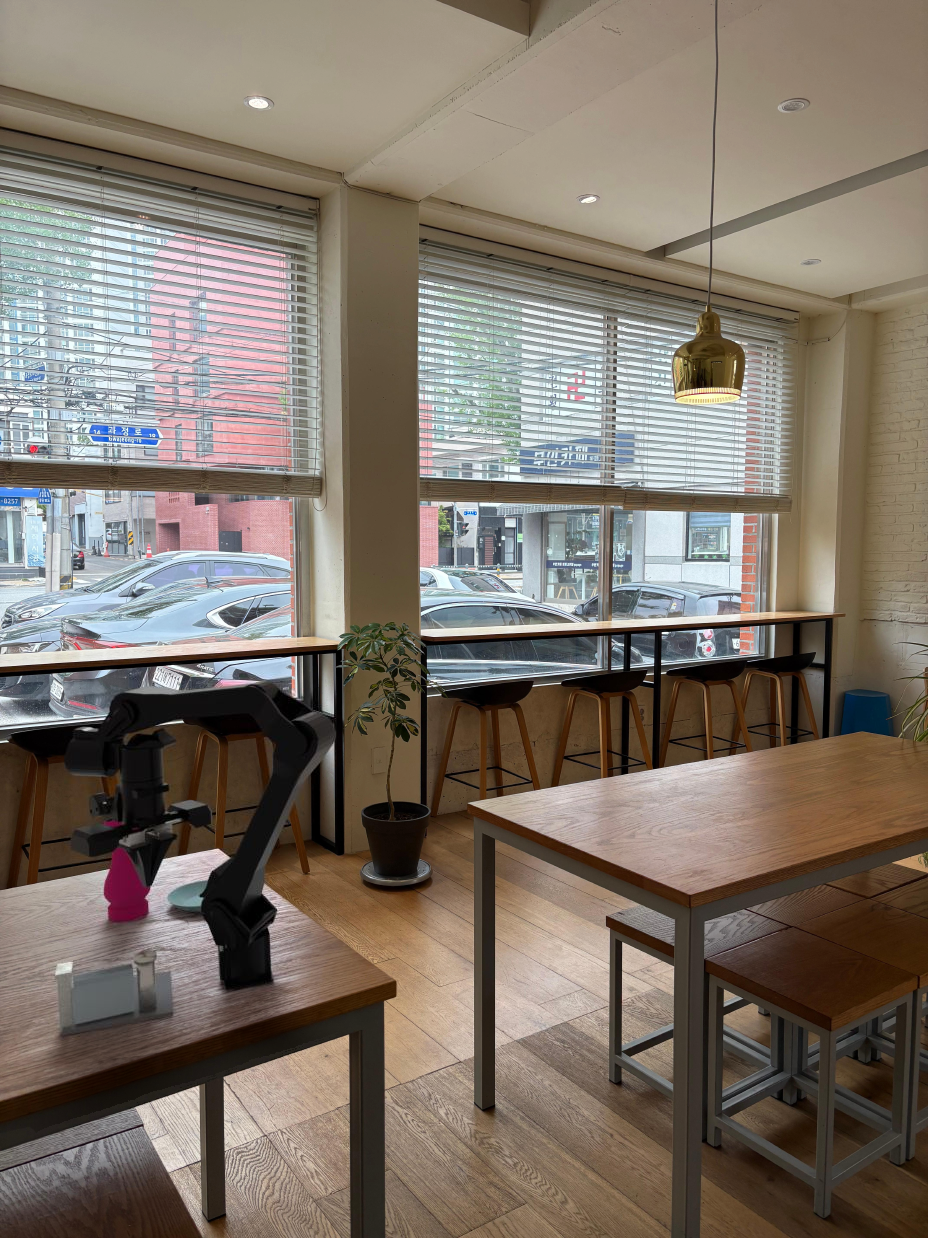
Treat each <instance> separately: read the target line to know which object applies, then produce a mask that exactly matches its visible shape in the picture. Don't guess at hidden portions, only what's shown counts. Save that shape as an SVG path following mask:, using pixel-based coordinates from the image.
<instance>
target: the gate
mask: <svg viewBox="0 0 928 1238" xmlns="http://www.w3.org/2000/svg"><path fill="white" fill-rule="evenodd" d="M133 977H134V968H133V964H132V963H128V964H127V963H126V964H121V965H118V966H117V965H116V966H111V967H107V968H103V969H97V970H93V971H89V972H84V973H79V974H72V985H73V987H74V1002H75V1019H76V1024H78V1023H83V1022H87V1021H92V1020H96V1019H100V1018H105V1017H109V1016H114V1015H118V1014H122V1013H127V1012H131V1011H135V999H134V980H133Z"/></svg>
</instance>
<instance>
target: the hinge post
mask: <svg viewBox="0 0 928 1238" xmlns="http://www.w3.org/2000/svg"><path fill="white" fill-rule="evenodd" d="M157 954H158V952H157V951H156V950H151V949H147V950H142V951H139V952H137V953H135V954H134V955H133V964H135V966H136V977H137V985H138V1005H139V1012H141V1013H149V1012H152V1011H154V1010H156V1008H157V998H156V978H155V973H156V965H155V963H156V961H157V960H158V955H157Z"/></svg>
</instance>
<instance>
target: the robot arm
mask: <svg viewBox="0 0 928 1238" xmlns="http://www.w3.org/2000/svg"><path fill="white" fill-rule="evenodd" d="M108 710H109V712H108V713H107V715H105V716H106V717H105V718H104V720H103V721H102V723H101V724H100V726H99V727H98V728H93V727H90V726H81V727H77V728H75V729H73V730H72V733H73V734H72V735H73V738H71V740H70V741H69V742H68V744H67V747H66V751H65V754H64V756H63V758H64V760H63V761H64V765H65V766H64V767H65V768H66V771H67V772H68V774H70V775H73V776H82V777H83V776H84V777H87V776H88V777H105V778H106V777H107V778H109V777H110V778H111V777H114V776H115V775H116V774H117V773H118V772H119V779H120V781H119V782H120V784H119V783H118V784H115V788H114V792H115V793H114V795H113V796H109V797H108V796H107V793H106V792H99V793H96V794H92V795H90V796H88V810H89V815H90V817H91V818H92V819H97V818H101V817H102V820H103V823H100V822H97V823H93V824H89V825H86V826H82V827H78V828H75V829H74V830H73V833H72V835H71V836H70V849H71V850H72V851H74V852H77V853H79V854H80V855H81V854H82V855H84V856H87V857H88V858H97V857H99V856H102V855H106V854H110V853H111V854H112V852H114V851H115V849H116V848H117V847H119V848H122V849H124V850H125V851H126V852H127V854H128V856H129V857H130V859H131V861H132V863H133V865H134V867H135V869H136V871H137V874H138V876H139V878H140V880H141V883H142V885H143V886H144V887H150V886H151V887H152V885H153V884H154V881H155V879H156V877H157V875H158V872H159V870H160V868H161V865H162V862H163V861H164V858H165V856H166V855H167V853H168V851H169V849H170V847H171V845H172V843H173V842H174V841H176V840H178V838H179V835H178V834H177V833H173V827H174V826H176V825H180V824H184V823H187V822H188V825H190V826H191V827H192V828H193V829H198V828H203V827H205V826H209V825H212V824H213V811H212V809H211V807H210V806H209V805H208V804H206V803H203V802H199V801H196V800H192V799H188V800H185V801H180V802H175V803H171V804H169V806H168V808H167V810H166V803H165V801H166V800H165V793H167V792H170V784H169V783H168V782H167V783H166V782H165V780H164V763H163V762H164V759H163V758H164V757H163V749H164V748H167V747H170V746H173V745H174V744H176V743H177V739H176V738H175V737H174V736H173V735H172V734H170V733H168V731H166V729H165V728H164V727H162V728H159V729H156V730H154V731H153V732H152V733H141V731H143V730H146V729H151V728H154V727H156V726H159V725H163V724H166V723H167V724H168V723H169V722H173V721H178V720H187V719H197V718H199V719H200V718H208V717H218V716H219V717H220V716H227V715H239V714H248V715H250V716H251V717H252V718H253V719H254V721H255V722H256V724H257V725H258V727H259V728H260V730H261V731H262V733H263V734H264V735H265V737H266V738H267V739H268V740H270V741H271V742H272V743H274V746H273V747H274V748H273V752H272V756H271V757H272V758H271V759H272V760H271V761H272V765H271V767H272V768H271V769H272V770H271V771H272V773H271V775H270V778H269V781H268V783H267V785H266V787H265V788H264V791H263V793H262V795H261V797H260V800H259V802H258V805H257V806H256V808H255V811H254V813H253V815H252V816H251V819H250V821H249V824H248V827H247V828H246V831H245V833H244V835H243V837H242V839H241V841H240V843H239V846H238V847H237V850H236V852H235V855H234V857H233V856H232V857H230V858H228V859H226V860H225V861H224V862H223V863H221V864H219V866H216V867H215V868H214V869H213V870H212V871H210V873H209V876H208V877H207V878H208V879H207V880H208V882H207V886H206V888H205V890H204V891H203V892H202V893H201V894H200V895H199V897H200V898H203V900H202V902H201V906H200V911H201V912H200V913H201V914H202V916H203V919H204V921H205V922H206V924H207V926H208V929H209V931H210V934H211V936H212V939H213V942H214V944H215V946H217V961H218V962H217V963H218V975H219V981H221V982H223V986H224V987H223V988H224V990H225V991H233V990H238V989H243V988H249V987H254V986H260V985H265V984H266V985H267V984H271V983H273V982H275V980H274V979H275V978H274V975H273V971H272V959H271V958H272V953H271V934H270V931H269V928H268V927H270V926H271V925H272V924H273V923H275V920H276V917H277V914H278V908H277V907H276V906H275V905H274V904H273V902H271V901H270V900H269V899H268V898H267V897H266V896H265V895H264V893H263V891H264V887H265V883H266V882H265V880H266V879H265V877H266V875H265V867H266V864H267V863H268V861H269V858H270V856H271V854H272V852H273V849H274V848H275V846H276V843H277V841H278V839H279V837H280V835H281V832H282V830H283V828H284V826H285V823H286V821H287V819H288V817H289V815H290V814H291V811H292V809H293V806H294V804H295V802H296V799H297V798H298V796H299V793H300V792H301V789H302V787H303V785H304V783H305V782H306V780H307V779H308V777H309V776H310V775H311V774H312V772H314V770H315V769H316V768H317V767H318V765H319V764H321V761H323V759H324V758H325V756H326V755H327V753H328V752H329V751H330V749H331V748H332V747H333V745H334V743H335V741H336V737H337V730H336V729H335V726H334V723H333V722H332V721H331V719H330V718H329V717H328V716H326V715H325V714H324V713H322V712H317V711H315V710H313V709H312V708H311V707H310V706H308V705H307V704H306V703H305V702H303V701H301V700H300V699H297V698H296V697H294V696H292V695H290V694H288V693H286V692H285V691H283V690H282V689H281V688H280V687H279V686H278V685H276V684H275V683H273V682H272V681H270V680H265V679H263V680H260V681H256V682H253V683H251V682H250V683H243V684H235V685H234V684H233V685H232V684H231V685H225V686H215V687H205V688H196V689H186V690H185V689H184V690H182V689H175V688H172V687H167V686H166V687H165V686H155V685H147V686H146V685H145V686H143V687H139V688H135V689H134V688H133V689H131V690H127V691H126V690H125V691H122V692H120V693H117V694H116V695H114V696H113V699H112V700H111V702H110V705H109V709H108ZM138 732H140V733H138ZM134 733H135V734H134ZM130 734H134V735H131V737H130V738H125V737H124V736H127V735H130ZM112 820H113V821H114V822H117V823H118V822H122V824H123V825H120V826H116V827H109V826H106V825H104V822H110V821H112ZM135 828H137V829H135ZM132 829H134V830H132Z"/></svg>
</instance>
